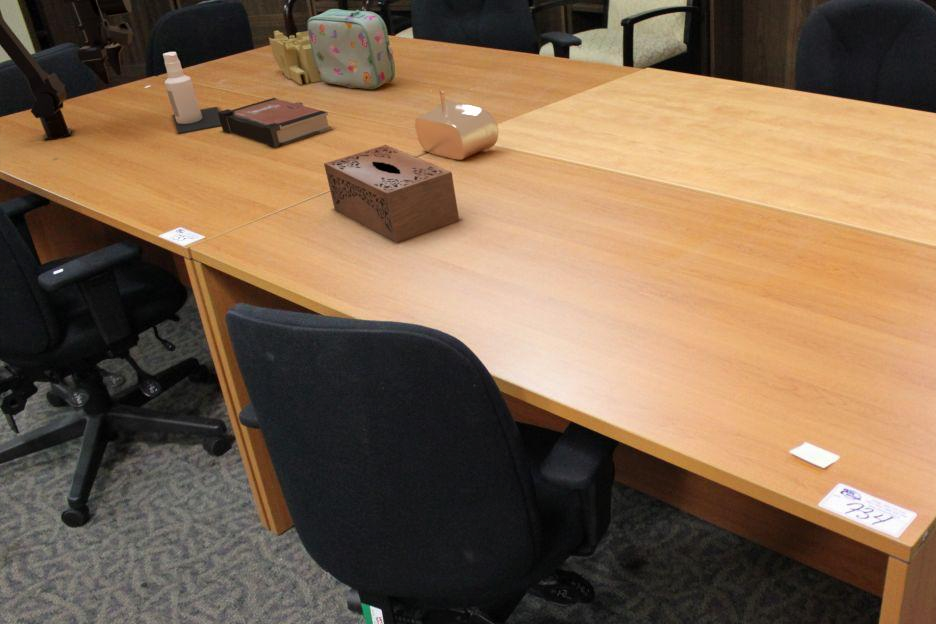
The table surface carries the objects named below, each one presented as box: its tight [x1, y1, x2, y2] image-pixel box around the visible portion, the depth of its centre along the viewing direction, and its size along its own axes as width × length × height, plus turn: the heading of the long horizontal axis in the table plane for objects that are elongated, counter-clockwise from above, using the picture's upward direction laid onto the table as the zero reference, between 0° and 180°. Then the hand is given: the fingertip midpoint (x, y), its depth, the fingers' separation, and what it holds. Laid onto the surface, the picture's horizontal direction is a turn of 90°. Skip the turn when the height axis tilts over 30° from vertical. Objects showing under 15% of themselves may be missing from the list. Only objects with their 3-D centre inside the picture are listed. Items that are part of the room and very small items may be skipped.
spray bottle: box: [162, 51, 202, 124], centre depth 262 cm, size 7×7×18 cm
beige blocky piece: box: [268, 30, 324, 86], centre depth 301 cm, size 24×16×20 cm
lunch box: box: [307, 8, 396, 90], centre depth 282 cm, size 27×10×21 cm, turn 58°
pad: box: [172, 106, 222, 135], centre depth 268 cm, size 20×12×1 cm, turn 24°
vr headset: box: [414, 90, 500, 161], centre depth 226 cm, size 18×11×14 cm, turn 49°
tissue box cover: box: [323, 144, 460, 244], centre depth 196 cm, size 26×14×10 cm, turn 40°
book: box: [218, 97, 332, 149], centre depth 253 cm, size 26×18×5 cm
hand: (113, 79), depth 260 cm, fingers open, 9 cm apart
